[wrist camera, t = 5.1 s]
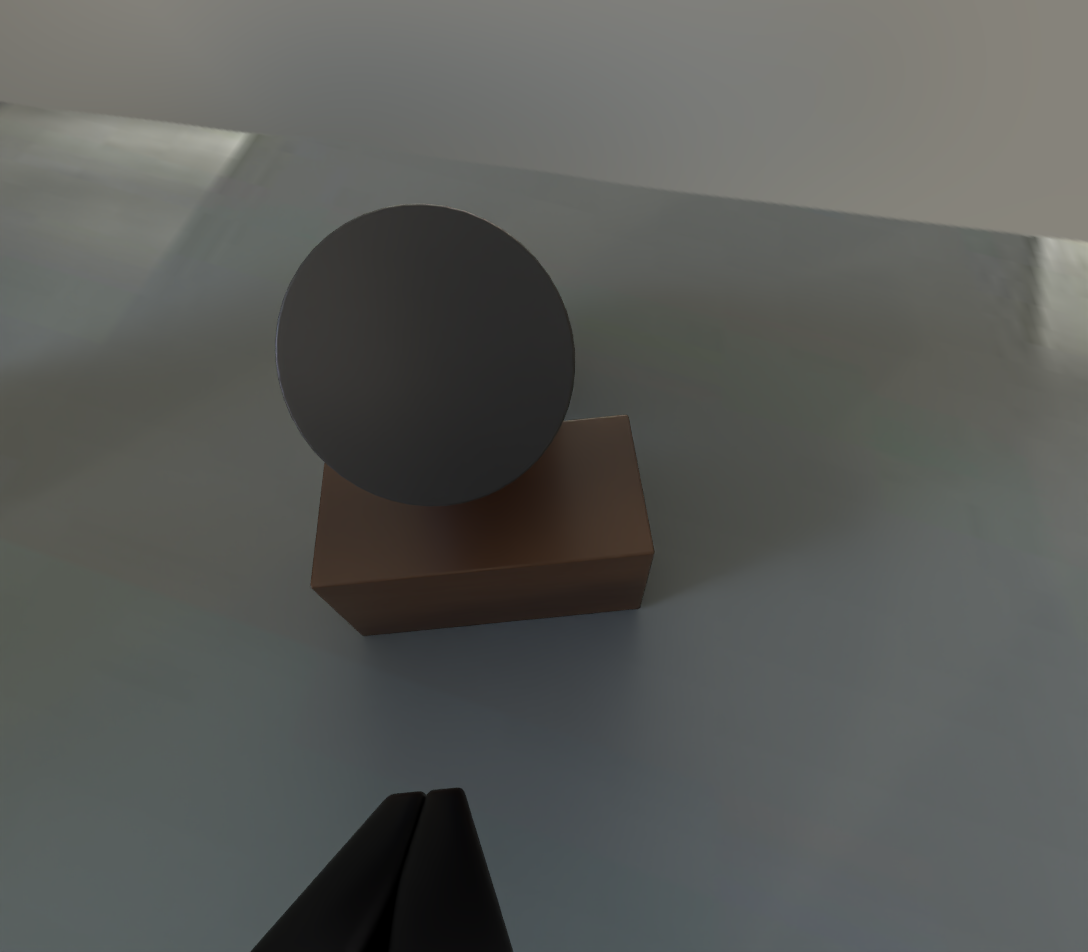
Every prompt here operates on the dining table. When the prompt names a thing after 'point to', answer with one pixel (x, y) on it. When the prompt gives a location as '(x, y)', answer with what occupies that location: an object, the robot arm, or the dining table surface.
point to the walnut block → (493, 543)
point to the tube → (425, 355)
